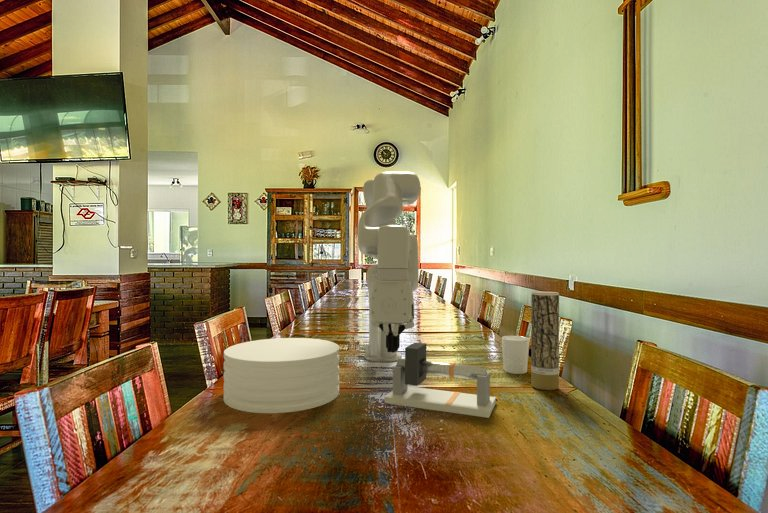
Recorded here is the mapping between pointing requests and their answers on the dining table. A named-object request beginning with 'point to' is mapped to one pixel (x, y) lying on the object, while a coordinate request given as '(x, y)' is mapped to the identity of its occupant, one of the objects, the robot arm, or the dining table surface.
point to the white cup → (515, 354)
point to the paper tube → (545, 340)
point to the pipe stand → (442, 397)
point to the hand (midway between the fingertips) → (392, 351)
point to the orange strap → (451, 374)
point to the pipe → (446, 369)
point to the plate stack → (281, 374)
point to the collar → (414, 363)
